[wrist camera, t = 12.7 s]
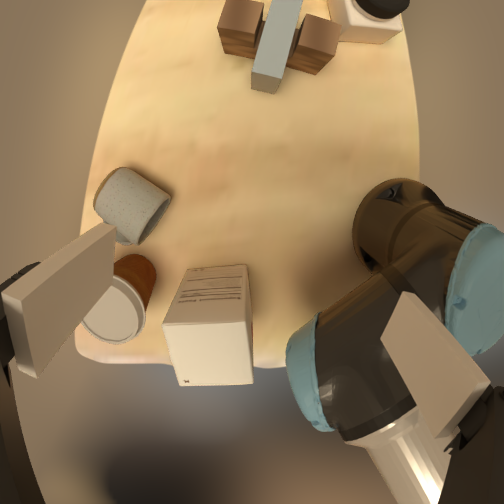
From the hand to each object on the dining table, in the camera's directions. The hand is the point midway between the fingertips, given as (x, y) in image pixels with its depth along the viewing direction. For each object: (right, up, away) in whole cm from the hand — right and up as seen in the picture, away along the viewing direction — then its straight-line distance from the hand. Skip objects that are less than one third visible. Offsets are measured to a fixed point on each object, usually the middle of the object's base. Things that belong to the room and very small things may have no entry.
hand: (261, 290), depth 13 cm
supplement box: (-5, -4, +32) cm, 33 cm away
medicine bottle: (+14, +33, +19) cm, 41 cm away
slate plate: (+2, +27, +21) cm, 34 cm away
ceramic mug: (-16, +8, +28) cm, 33 cm away
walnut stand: (+2, +28, +21) cm, 34 cm away
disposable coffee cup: (-18, -2, +31) cm, 36 cm away
